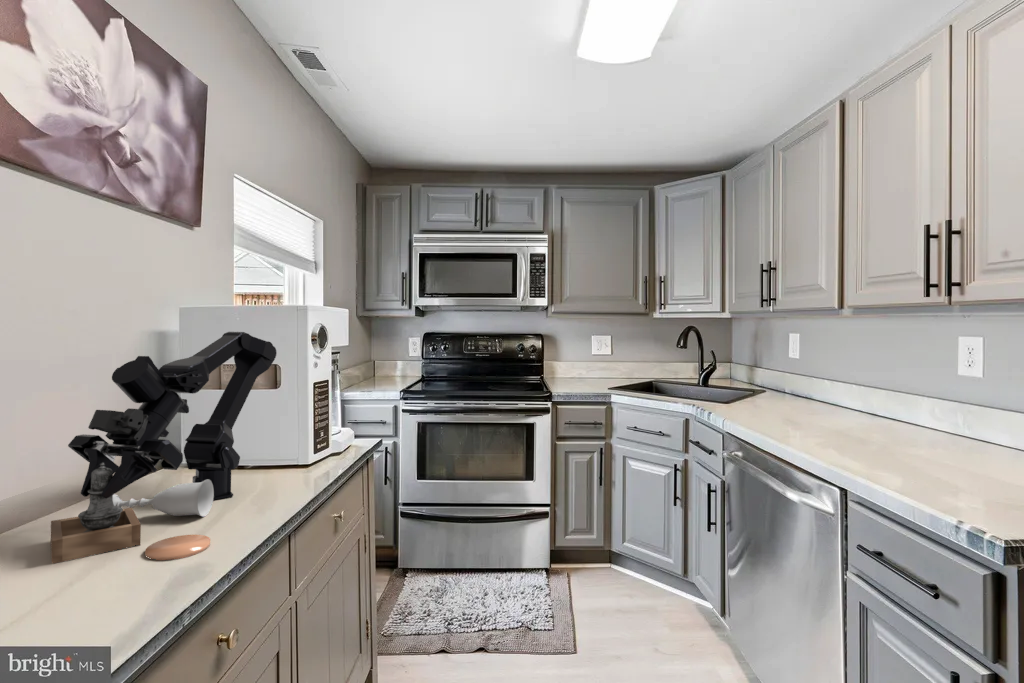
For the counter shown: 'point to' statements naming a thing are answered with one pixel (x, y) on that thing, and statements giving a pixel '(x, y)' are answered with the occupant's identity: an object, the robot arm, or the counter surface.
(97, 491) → the pewter pepper pot
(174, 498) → the chalice
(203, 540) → the terracotta coaster
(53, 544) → the walnut collar
